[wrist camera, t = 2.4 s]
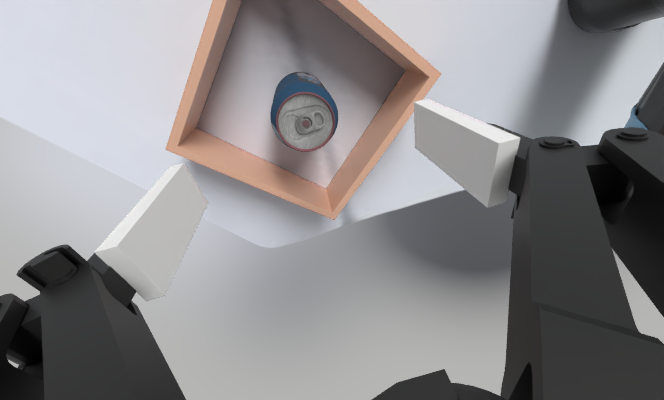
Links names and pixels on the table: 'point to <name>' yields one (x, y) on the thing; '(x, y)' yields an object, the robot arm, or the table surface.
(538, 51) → the table surface
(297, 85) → the soda can
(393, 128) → the terracotta sleeve
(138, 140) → the table surface
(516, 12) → the table surface
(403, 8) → the table surface
